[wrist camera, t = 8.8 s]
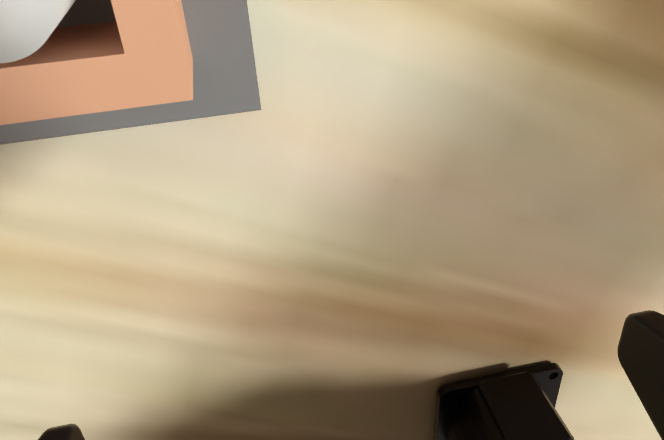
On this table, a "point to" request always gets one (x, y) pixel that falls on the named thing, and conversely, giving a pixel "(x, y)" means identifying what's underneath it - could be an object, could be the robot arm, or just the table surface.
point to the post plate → (208, 100)
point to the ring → (103, 65)
